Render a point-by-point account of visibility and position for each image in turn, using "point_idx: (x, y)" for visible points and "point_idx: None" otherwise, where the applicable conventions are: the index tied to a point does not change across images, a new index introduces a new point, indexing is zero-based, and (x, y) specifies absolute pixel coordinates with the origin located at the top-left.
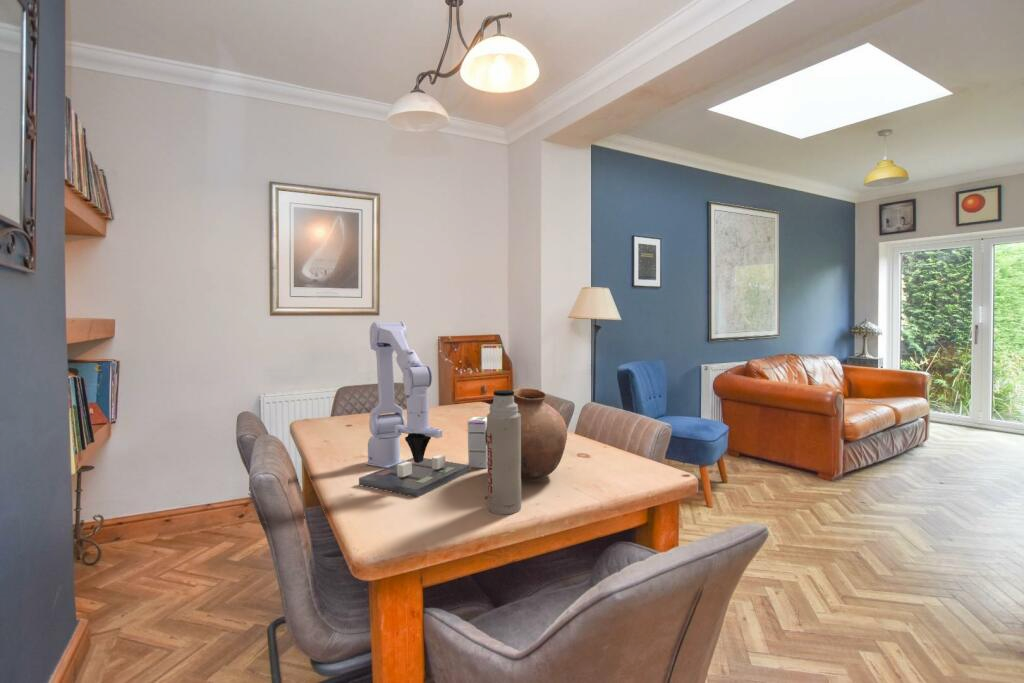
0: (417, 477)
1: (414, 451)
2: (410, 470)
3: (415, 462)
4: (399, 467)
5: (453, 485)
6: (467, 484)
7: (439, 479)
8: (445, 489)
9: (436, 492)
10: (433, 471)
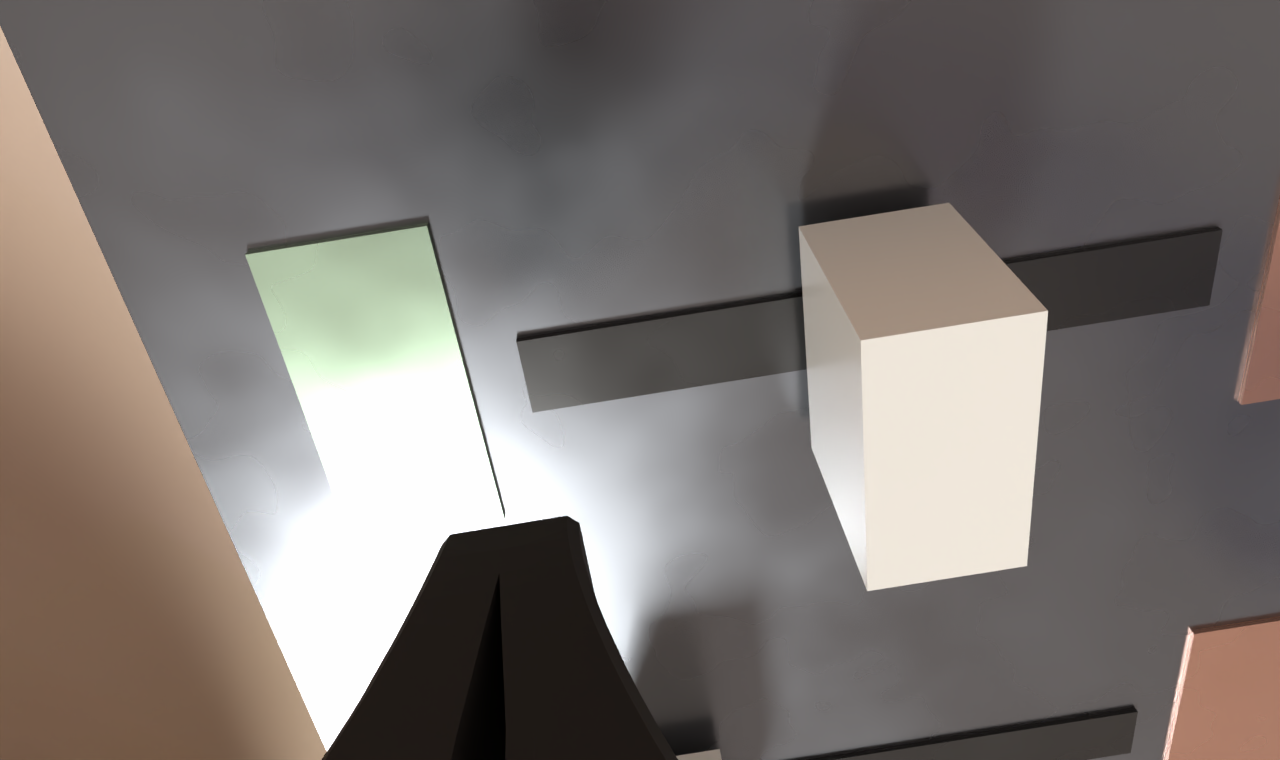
0: (596, 394)
1: (513, 749)
2: (827, 456)
3: (532, 521)
4: (954, 293)
5: (167, 604)
6: (69, 717)
7: (239, 547)
8: (86, 447)
9: (50, 282)
10: None
